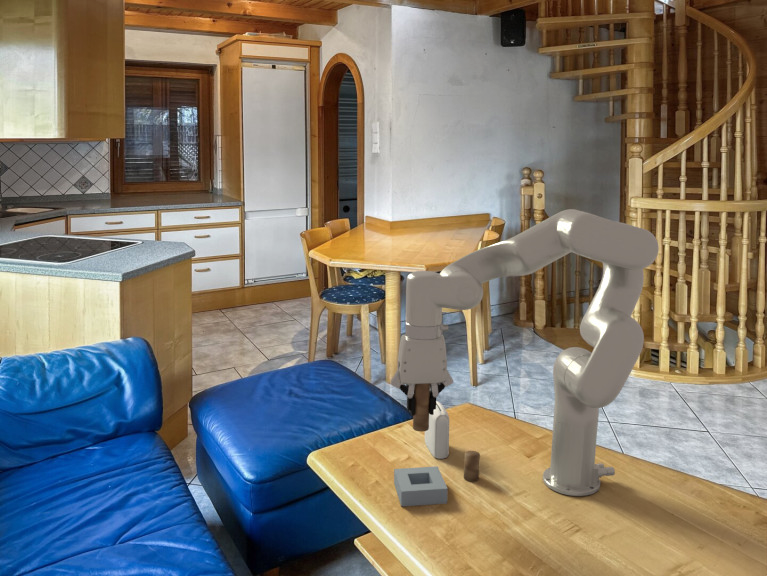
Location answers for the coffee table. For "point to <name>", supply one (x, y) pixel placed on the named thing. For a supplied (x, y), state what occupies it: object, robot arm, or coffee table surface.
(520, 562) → the coffee table surface
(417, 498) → the hole block
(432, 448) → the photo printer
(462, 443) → the coffee table surface
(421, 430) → the tall dowel
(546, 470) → the robot arm
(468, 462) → the short dowel
